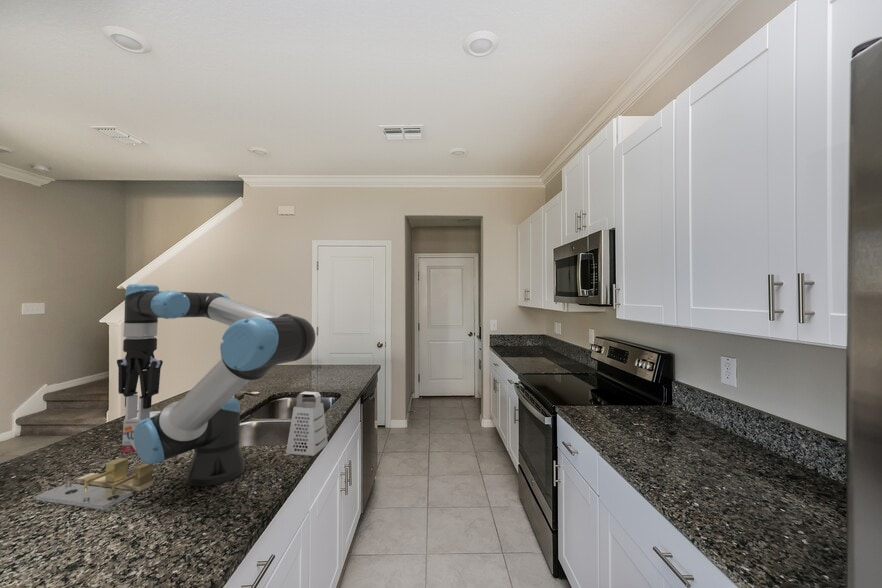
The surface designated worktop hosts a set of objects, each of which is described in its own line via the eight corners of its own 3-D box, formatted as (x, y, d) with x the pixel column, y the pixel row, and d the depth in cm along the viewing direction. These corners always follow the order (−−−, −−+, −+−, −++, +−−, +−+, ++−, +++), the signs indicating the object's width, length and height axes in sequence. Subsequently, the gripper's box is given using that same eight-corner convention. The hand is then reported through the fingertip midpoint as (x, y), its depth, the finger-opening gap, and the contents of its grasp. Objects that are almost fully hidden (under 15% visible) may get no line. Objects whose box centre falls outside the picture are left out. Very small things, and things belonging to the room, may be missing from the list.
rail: (152, 484, 103) (153, 462, 103) (116, 503, 93) (117, 478, 93) (91, 476, 107) (92, 455, 107) (50, 493, 97) (51, 470, 97)
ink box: (120, 453, 124) (122, 418, 124) (134, 444, 132) (135, 411, 132) (150, 450, 126) (151, 416, 126) (161, 441, 134) (162, 410, 135)
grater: (313, 455, 124) (315, 397, 124) (285, 453, 126) (287, 395, 126) (327, 444, 134) (329, 390, 135) (302, 442, 136) (303, 388, 136)
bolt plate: (131, 495, 97) (132, 490, 97) (103, 509, 90) (103, 504, 90) (67, 486, 101) (68, 481, 101) (35, 499, 94) (35, 494, 94)
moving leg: (127, 476, 104) (128, 458, 104) (88, 493, 95) (89, 474, 95) (118, 475, 105) (119, 457, 105) (79, 492, 95) (80, 473, 96)
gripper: (177, 337, 106) (174, 417, 105) (130, 335, 109) (127, 413, 108) (152, 339, 99) (148, 425, 98) (102, 337, 102) (99, 421, 101)
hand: (137, 419), depth 103 cm, fingers open, 4 cm apart
